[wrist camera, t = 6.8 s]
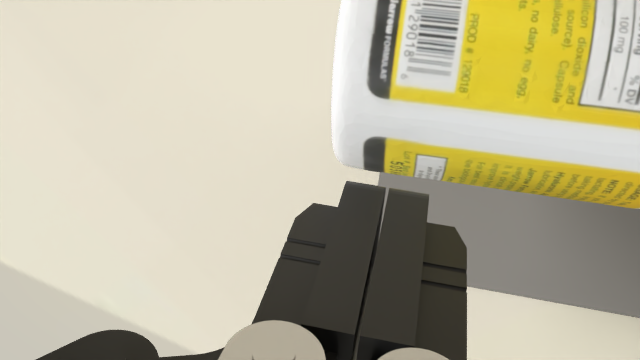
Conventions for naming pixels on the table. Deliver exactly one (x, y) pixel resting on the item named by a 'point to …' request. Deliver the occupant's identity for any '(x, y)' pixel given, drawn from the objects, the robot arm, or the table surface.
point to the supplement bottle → (493, 94)
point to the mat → (539, 243)
